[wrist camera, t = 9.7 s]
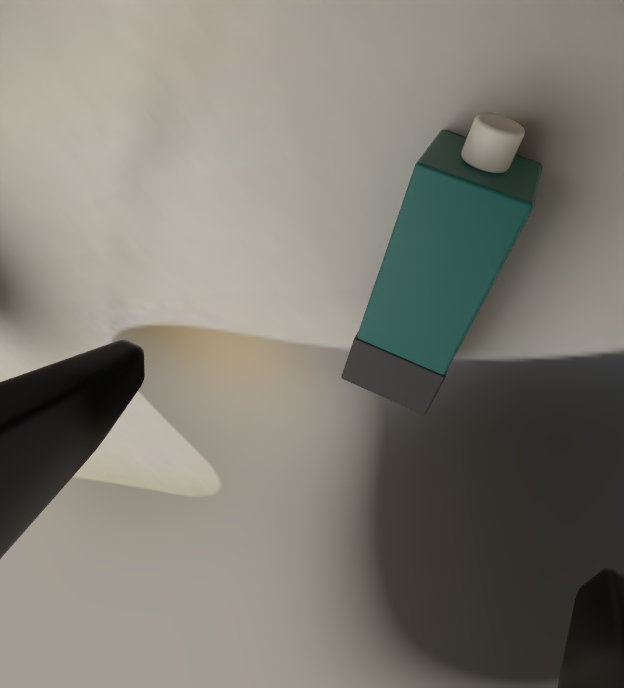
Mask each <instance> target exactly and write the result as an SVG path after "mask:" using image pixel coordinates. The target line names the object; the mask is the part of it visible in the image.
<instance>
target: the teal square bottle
mask: <svg viewBox="0 0 624 688" xmlns="http://www.w3.org/2000/svg"><path fill="white" fill-rule="evenodd" d="M524 134H525V130H524V128H523V127H522V126H521V125H520V124H518V123H517V122H515V121H514V120H512V119H509V118H507V117H504V116H501V115H497V114H492V113H480V114H478V115H477V116H476V117H475V119H474V121H473V124H472V126H471V129H470V131H469V134H468V136H467V138H465V137H462V136H459V135H456V134H453V133H450V132H448V131H445V130H441V131H440V132H439V134H438V135H437V137H436V138H435V139H434V141H433V142H432V143H431V145H430V146H429V147H428V149H427V150H426V151H425V153H424V154H423V155H422V157H421V158H420V159H419V161H418V162H417V163H416V165H415V168H414V171H413V174H412V176H411V179H410V182H409V185H408V188H407V191H406V194H405V197H404V200H403V203H402V206H401V209H400V212H399V215H398V218H397V220H396V223H395V226H394V229H393V232H392V235H391V238H390V241H389V244H388V247H387V250H386V253H385V256H384V259H383V262H382V264H381V267H380V270H379V273H378V276H377V279H376V282H375V285H374V288H373V291H372V294H371V297H370V300H369V303H368V306H367V308H366V311H365V314H364V317H363V320H362V323H361V326H360V329H359V331H358V333H357V335H356V337H355V338H354V341H353V344H352V347H351V350H350V353H349V356H348V359H347V362H346V365H345V368H344V371H343V374H342V378H343V379H345V380H347V381H349V382H351V383H353V384H356V385H358V386H360V387H362V388H365V389H367V390H369V391H372V392H374V393H376V394H378V395H380V396H382V397H385V398H387V399H389V400H391V401H394V402H396V403H398V404H400V405H403V406H405V407H407V408H409V409H412V410H414V411H416V412H418V413H421V414H423V415H425V414H426V413H427V410H428V409H429V407H430V405H431V403H432V401H433V399H434V398H435V396H436V394H437V392H438V390H439V388H440V386H441V384H442V383H443V381H444V379H445V377H446V373H447V370H448V367H449V365H450V364H451V362H452V360H453V358H454V356H455V354H456V352H457V350H458V348H459V347H460V345H461V343H462V341H463V339H464V337H465V335H466V333H467V331H468V330H469V328H470V326H471V324H472V322H473V320H474V318H475V316H476V314H477V313H478V311H479V309H480V307H481V305H482V303H483V301H484V299H485V297H486V296H487V294H488V292H489V290H490V288H491V286H492V284H493V282H494V280H495V279H496V277H497V275H498V273H499V271H500V269H501V267H502V265H503V263H504V262H505V260H506V258H507V256H508V254H509V252H510V250H511V248H512V246H513V245H514V243H515V241H516V239H517V237H518V235H519V233H520V231H521V229H522V228H523V226H524V224H525V222H526V220H527V218H528V216H529V214H530V212H531V211H532V209H533V206H534V201H535V197H536V192H537V187H538V183H539V178H540V174H541V169H542V165H541V164H539V163H536V162H534V161H531V160H528V159H525V158H522V157H519V156H516V155H515V154H516V152H517V150H518V148H519V145H520V143H521V141H522V139H523V137H524Z"/></svg>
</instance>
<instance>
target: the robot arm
mask: <svg viewBox="0 0 624 688" xmlns="http://www.w3.org/2000/svg"><path fill="white" fill-rule="evenodd" d="M143 380H144V352H143V349H142V348H141V347H140V346H138V345H136V344H134V343H132V342H129V341H126V340H120V341H117V342H114V343H111V344H108V345H105V346H102V347H99V348H97V349H94V350H91V351H88V352H85V353H82V354H80V355H77V356H74V357H71V358H68V359H65V360H63V361H60V362H57V363H54V364H51V365H48V366H45V367H43V368H40V369H37V370H34V371H31V372H28V373H26V374H23V375H20V376H17V377H14V378H11V379H9V380H6V381H3V382H0V559H1V558H2V556H3V555H4V554H5V553H6V552H7V551H8V550H9V548H10V547H11V546H12V545H13V544H14V543H15V542H16V540H17V539H18V538H19V537H20V536H21V535H22V534H23V532H24V531H25V530H26V529H27V528H28V527H29V525H30V524H31V523H32V522H33V521H34V520H35V519H36V518H37V517H38V515H39V514H40V513H41V512H42V511H43V510H44V509H45V507H46V506H47V505H48V504H49V503H50V502H51V501H52V499H53V498H54V497H55V496H56V495H57V494H58V493H59V491H60V490H61V489H62V488H63V487H64V486H65V485H66V483H67V482H68V481H69V480H70V479H71V478H72V477H73V476H74V474H75V473H76V472H77V471H78V470H79V469H80V468H81V466H82V465H83V464H84V463H85V462H86V461H87V460H88V458H89V457H90V456H91V455H92V454H93V453H94V451H95V450H96V449H97V448H98V446H99V445H100V444H101V442H102V441H103V440H104V438H105V437H106V436H107V434H108V433H109V431H110V430H111V428H112V427H113V426H114V424H115V423H116V421H117V420H118V418H119V417H120V415H121V414H122V413H123V411H124V410H125V408H126V407H127V405H128V404H129V403H130V401H131V400H132V398H133V397H134V395H135V394H136V393H137V391H138V390H139V388H140V387H141V385H142V383H143ZM558 688H624V574H623V573H621V572H619V571H617V570H614V569H612V568H606V569H604V570H602V571H601V572H600V573H598V574H597V575H596V576H594V577H593V578H592V579H590V580H589V581H588V582H586V583H585V584H584V585H583V586H582V587H581V588H580V589H579V591H578V593H577V596H576V599H575V603H574V608H573V613H572V618H571V623H570V628H569V633H568V637H567V642H566V647H565V652H564V657H563V661H562V666H561V671H560V677H559V683H558Z"/></svg>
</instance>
